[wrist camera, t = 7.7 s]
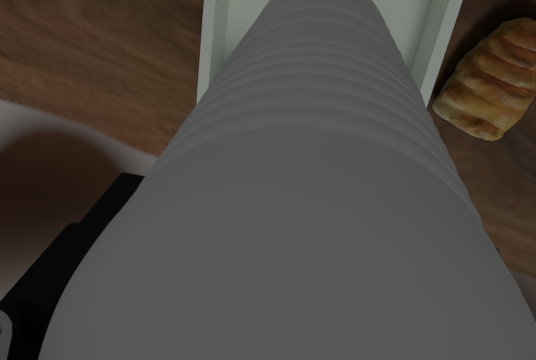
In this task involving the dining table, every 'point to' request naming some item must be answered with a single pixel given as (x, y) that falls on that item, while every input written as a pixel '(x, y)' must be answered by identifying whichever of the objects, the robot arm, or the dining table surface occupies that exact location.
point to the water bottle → (299, 219)
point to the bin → (388, 3)
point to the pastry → (492, 82)
